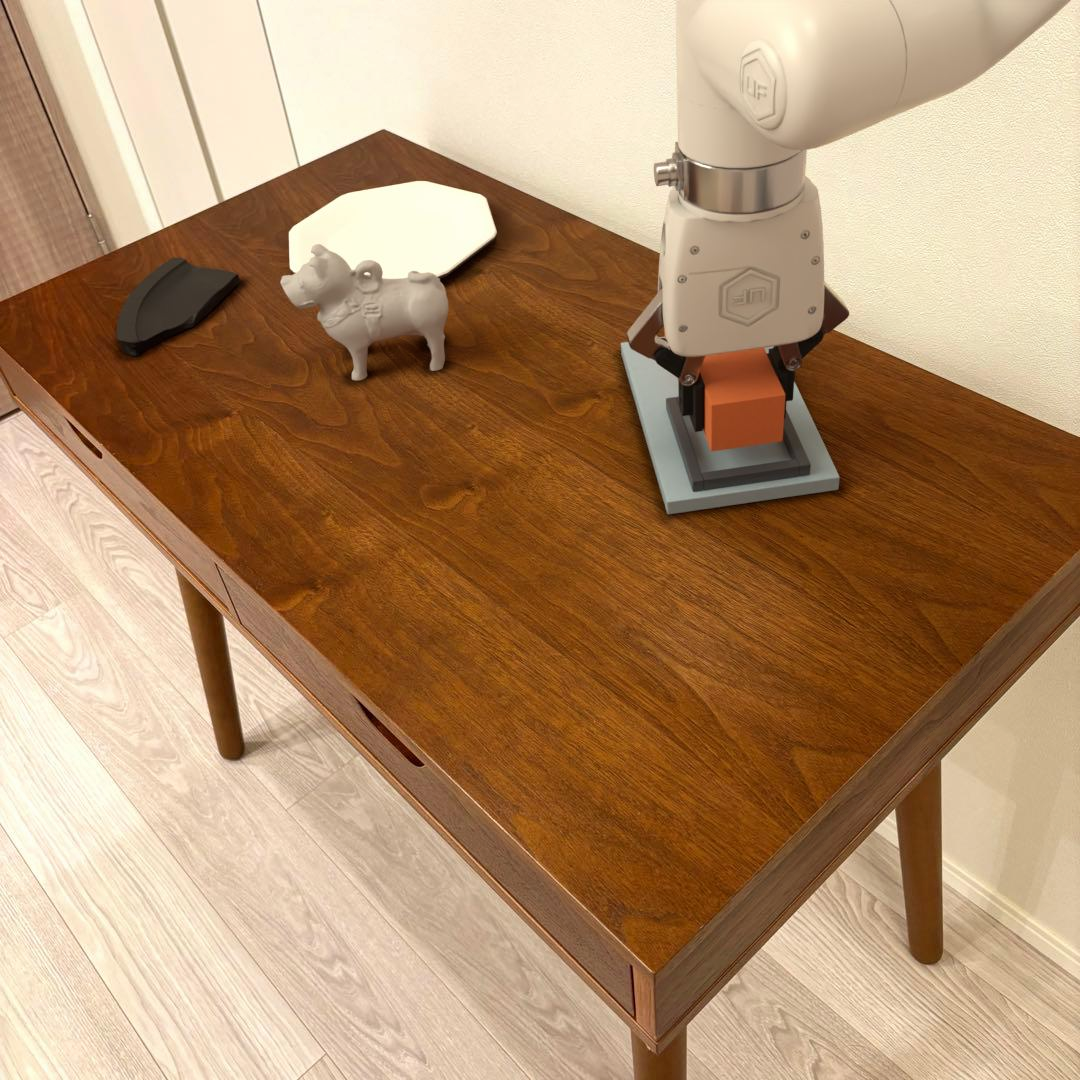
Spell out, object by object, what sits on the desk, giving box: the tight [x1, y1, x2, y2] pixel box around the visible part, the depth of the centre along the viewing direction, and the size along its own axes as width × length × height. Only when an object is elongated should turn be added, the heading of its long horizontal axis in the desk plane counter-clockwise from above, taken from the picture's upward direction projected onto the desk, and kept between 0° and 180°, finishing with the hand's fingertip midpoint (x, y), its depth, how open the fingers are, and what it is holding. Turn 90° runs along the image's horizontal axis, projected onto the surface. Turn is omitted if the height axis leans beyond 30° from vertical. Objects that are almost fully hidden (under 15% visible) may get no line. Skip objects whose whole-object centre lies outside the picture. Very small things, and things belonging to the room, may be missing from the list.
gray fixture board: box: [620, 328, 841, 515], centre depth 85 cm, size 12×20×5 cm, turn 6°
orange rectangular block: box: [700, 348, 785, 451], centre depth 79 cm, size 5×7×4 cm
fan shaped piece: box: [116, 257, 241, 357], centre depth 105 cm, size 8×14×2 cm, turn 156°
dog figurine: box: [280, 244, 449, 381], centre depth 93 cm, size 5×13×11 cm, turn 96°
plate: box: [288, 180, 498, 280], centre depth 110 cm, size 20×20×2 cm
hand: (735, 411), depth 81 cm, fingers closed on orange rectangular block, 5 cm apart
